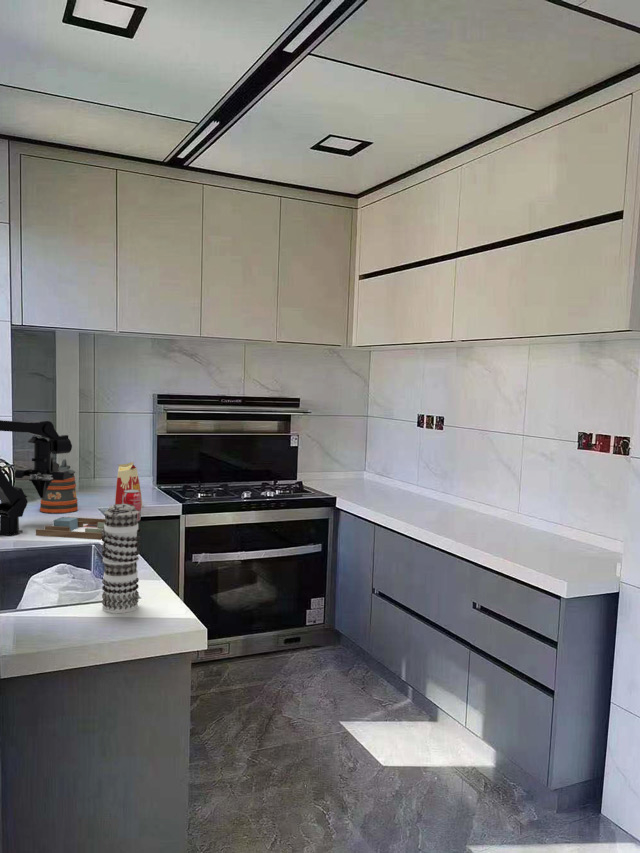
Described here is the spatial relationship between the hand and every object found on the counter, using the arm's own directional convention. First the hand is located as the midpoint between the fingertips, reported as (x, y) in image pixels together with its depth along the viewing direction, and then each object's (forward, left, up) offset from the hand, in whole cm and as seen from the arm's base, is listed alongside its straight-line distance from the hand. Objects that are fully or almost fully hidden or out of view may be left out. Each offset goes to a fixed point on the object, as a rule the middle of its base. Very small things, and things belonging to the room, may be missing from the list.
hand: (42, 497), depth 249 cm
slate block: (0, -9, -11) cm, 14 cm away
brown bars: (0, -18, -11) cm, 21 cm away
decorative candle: (-76, -62, -11) cm, 99 cm away
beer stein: (+34, +11, -11) cm, 37 cm away
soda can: (+19, -26, -11) cm, 34 cm away
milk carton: (+44, -14, -11) cm, 48 cm away
